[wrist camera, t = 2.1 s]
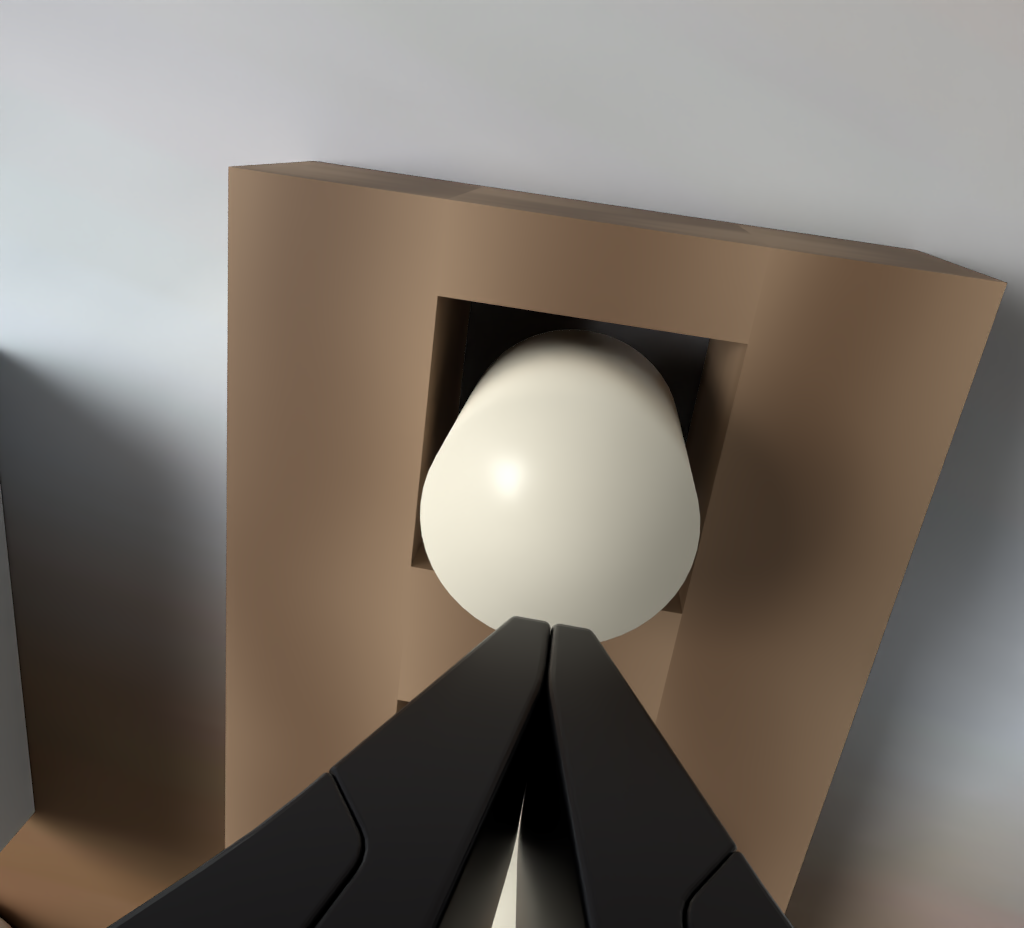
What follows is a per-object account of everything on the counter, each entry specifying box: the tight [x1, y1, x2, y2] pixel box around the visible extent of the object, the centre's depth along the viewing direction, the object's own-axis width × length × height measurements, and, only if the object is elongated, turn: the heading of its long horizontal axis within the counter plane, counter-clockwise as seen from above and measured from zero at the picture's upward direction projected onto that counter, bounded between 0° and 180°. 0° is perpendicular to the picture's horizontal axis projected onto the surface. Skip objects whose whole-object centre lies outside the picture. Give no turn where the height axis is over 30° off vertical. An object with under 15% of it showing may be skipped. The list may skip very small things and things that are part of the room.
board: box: [225, 161, 1007, 914], centre depth 19 cm, size 12×24×4 cm, turn 172°
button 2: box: [420, 329, 700, 642], centre depth 14 cm, size 4×4×4 cm
